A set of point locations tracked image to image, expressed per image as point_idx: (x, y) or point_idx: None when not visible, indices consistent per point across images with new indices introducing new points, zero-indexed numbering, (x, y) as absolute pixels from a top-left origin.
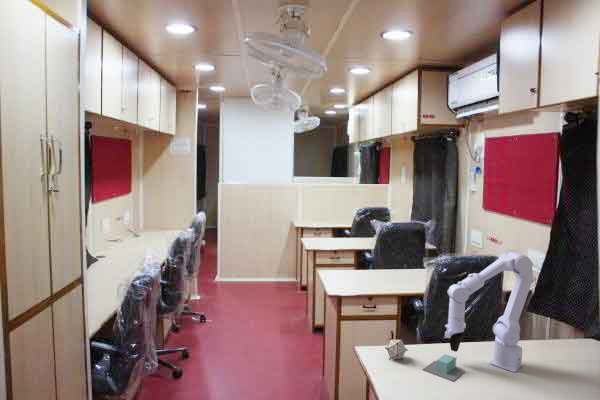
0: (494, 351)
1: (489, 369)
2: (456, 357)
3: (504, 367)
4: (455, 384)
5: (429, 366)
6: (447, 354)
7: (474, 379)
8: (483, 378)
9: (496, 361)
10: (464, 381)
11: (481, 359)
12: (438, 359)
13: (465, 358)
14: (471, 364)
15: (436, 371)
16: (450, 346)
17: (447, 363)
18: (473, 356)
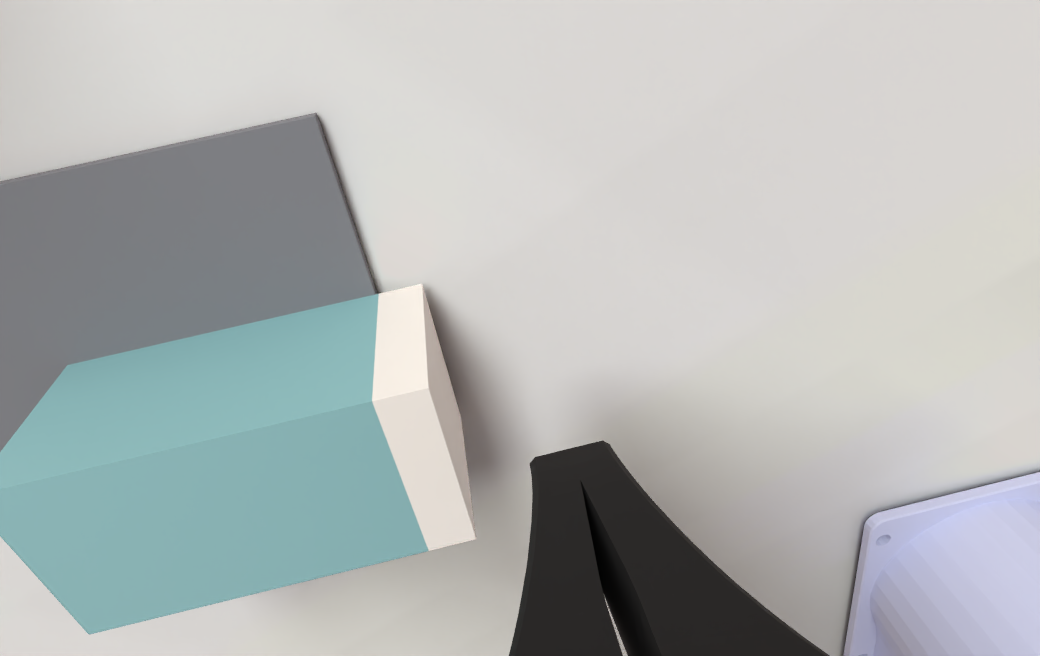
0: (1034, 638)
1: (742, 570)
2: (472, 528)
3: (863, 622)
4: (98, 642)
5: (24, 225)
6: (394, 432)
7: (403, 637)
8: (506, 649)
9: (907, 591)
10: (260, 633)
11: (938, 409)
12: (16, 499)
13: (833, 301)
14: (713, 437)
15: (40, 393)
16: (533, 514)
17: (105, 627)
18: (969, 315)
